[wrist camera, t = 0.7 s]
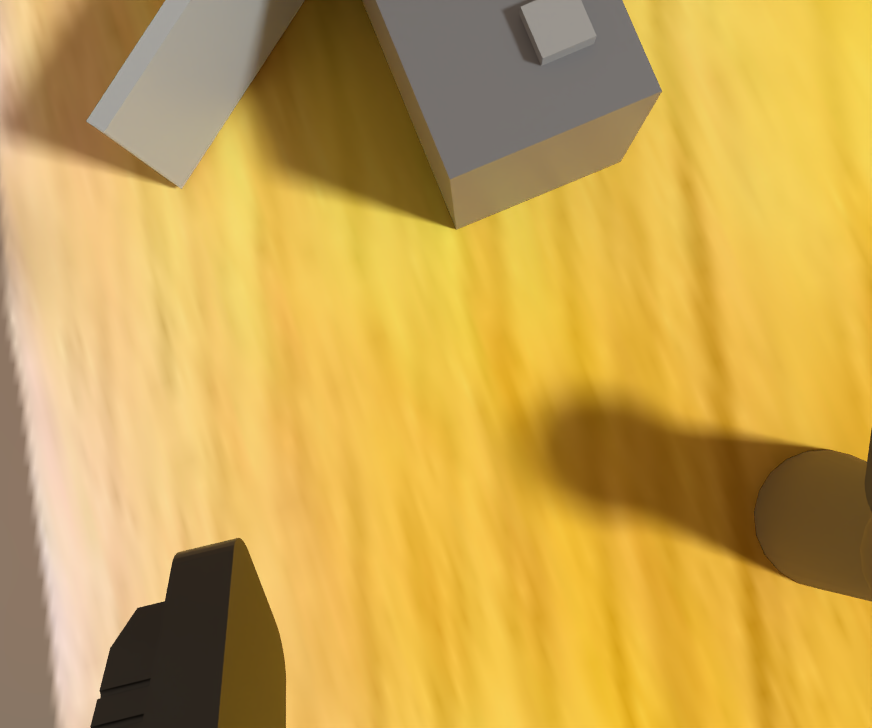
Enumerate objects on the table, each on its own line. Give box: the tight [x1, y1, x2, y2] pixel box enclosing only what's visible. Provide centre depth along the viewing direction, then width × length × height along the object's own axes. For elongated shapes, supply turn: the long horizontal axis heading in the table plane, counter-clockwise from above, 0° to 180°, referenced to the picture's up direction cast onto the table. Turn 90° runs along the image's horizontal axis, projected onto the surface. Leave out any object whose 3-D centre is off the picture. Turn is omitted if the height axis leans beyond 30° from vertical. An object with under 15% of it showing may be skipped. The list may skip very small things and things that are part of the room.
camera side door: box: [86, 0, 305, 189], centre depth 32 cm, size 2×13×8 cm, turn 147°
